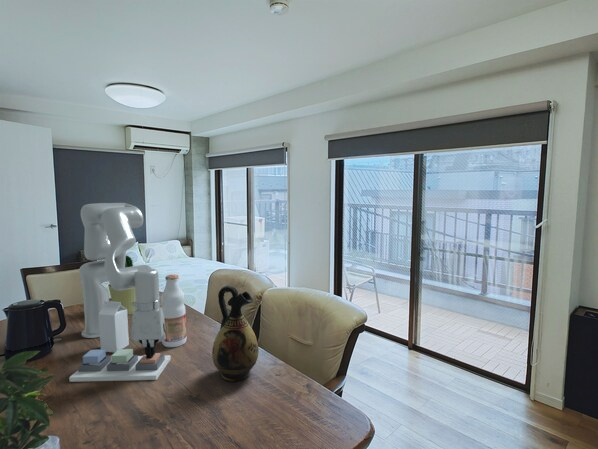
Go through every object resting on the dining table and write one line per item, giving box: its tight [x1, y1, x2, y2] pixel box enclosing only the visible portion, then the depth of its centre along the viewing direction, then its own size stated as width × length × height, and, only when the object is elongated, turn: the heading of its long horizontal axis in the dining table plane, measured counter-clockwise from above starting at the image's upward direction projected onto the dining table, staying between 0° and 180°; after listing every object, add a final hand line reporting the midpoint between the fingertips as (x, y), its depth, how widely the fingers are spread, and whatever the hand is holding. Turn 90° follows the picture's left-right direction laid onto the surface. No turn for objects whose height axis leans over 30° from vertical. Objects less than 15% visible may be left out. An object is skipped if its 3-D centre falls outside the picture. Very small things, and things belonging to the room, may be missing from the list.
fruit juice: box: [160, 274, 188, 348], centre depth 140 cm, size 9×9×28 cm
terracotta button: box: [140, 352, 161, 364], centre depth 120 cm, size 5×5×2 cm
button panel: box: [68, 354, 172, 383], centre depth 120 cm, size 14×28×4 cm, turn 92°
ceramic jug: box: [211, 285, 260, 383], centre depth 116 cm, size 17×15×30 cm
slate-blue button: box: [82, 349, 107, 364], centre depth 120 cm, size 5×5×2 cm
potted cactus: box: [107, 254, 136, 316], centre depth 178 cm, size 15×15×30 cm
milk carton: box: [99, 300, 130, 354], centre depth 136 cm, size 7×7×19 cm
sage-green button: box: [110, 348, 134, 363], centre depth 120 cm, size 5×5×2 cm
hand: (150, 356), depth 120 cm, fingers closed
